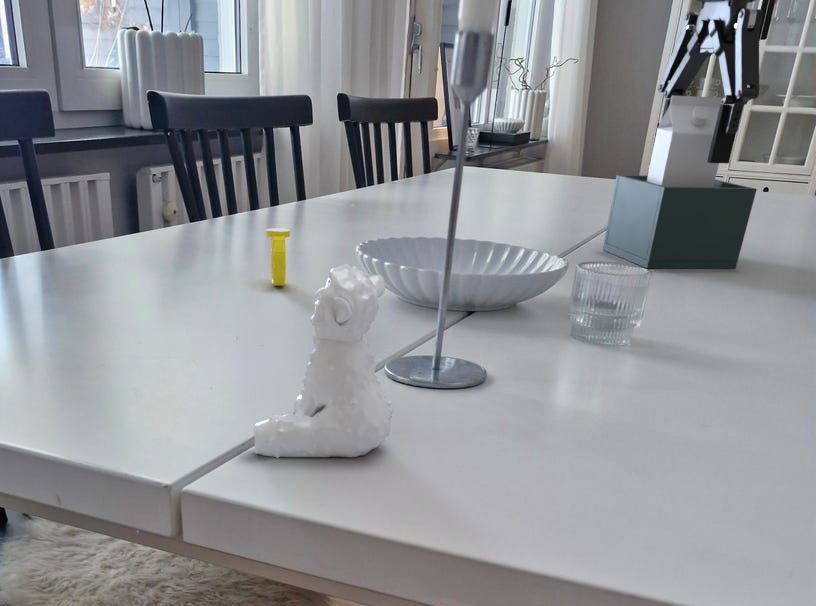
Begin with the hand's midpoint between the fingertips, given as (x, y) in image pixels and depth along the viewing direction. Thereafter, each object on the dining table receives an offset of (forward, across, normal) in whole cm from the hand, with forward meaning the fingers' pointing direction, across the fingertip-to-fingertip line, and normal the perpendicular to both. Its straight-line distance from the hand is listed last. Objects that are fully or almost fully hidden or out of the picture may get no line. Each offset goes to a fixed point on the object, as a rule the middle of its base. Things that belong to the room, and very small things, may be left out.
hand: (690, 158), depth 122 cm
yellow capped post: (+13, +15, -59) cm, 62 cm away
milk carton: (+12, -1, 0) cm, 12 cm away
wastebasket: (+13, 0, 0) cm, 13 cm away
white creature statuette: (+13, +66, -63) cm, 92 cm away
